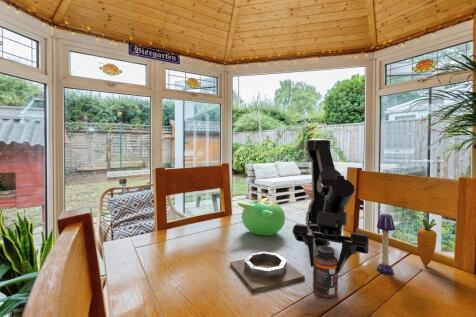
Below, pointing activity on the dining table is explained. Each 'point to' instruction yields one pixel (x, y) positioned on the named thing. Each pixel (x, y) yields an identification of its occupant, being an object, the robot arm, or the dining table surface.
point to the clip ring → (265, 272)
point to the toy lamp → (385, 241)
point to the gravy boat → (262, 216)
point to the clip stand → (263, 284)
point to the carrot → (426, 241)
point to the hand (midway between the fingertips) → (324, 269)
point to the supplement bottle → (325, 273)
